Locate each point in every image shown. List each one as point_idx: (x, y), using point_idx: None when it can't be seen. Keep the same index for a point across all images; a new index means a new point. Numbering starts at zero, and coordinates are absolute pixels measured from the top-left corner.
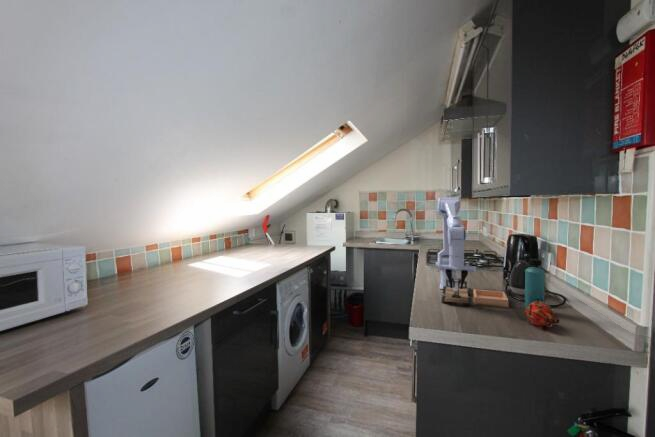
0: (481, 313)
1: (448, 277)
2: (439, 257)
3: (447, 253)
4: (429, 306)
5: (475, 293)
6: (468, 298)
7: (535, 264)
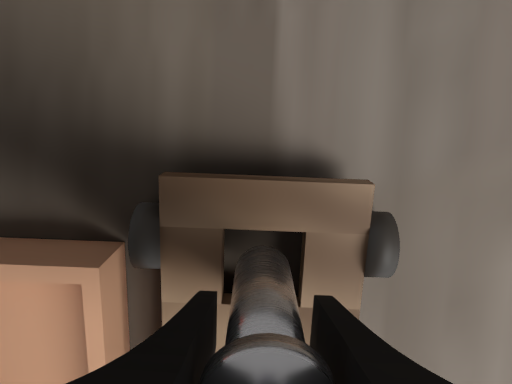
0: (75, 26)
1: (428, 376)
2: None
3: None
4: (490, 86)
5: None
6: (157, 229)
7: None
